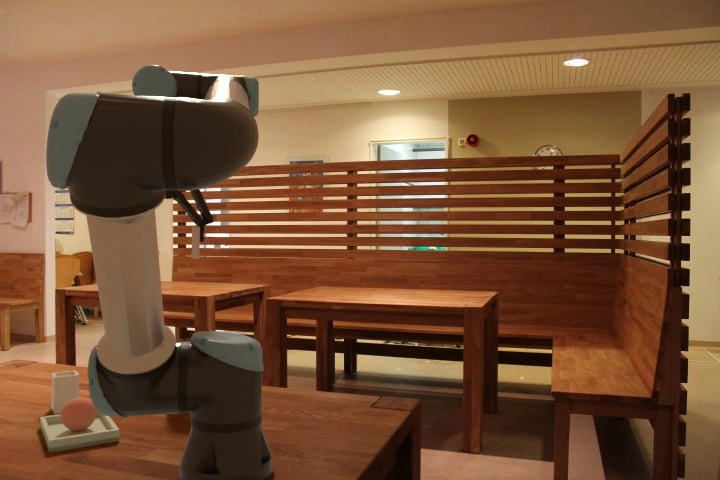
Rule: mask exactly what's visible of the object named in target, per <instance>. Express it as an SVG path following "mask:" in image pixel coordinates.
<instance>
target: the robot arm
mask: <svg viewBox="0 0 720 480" xmlns="http://www.w3.org/2000/svg"><path fill="white" fill-rule="evenodd" d="M259 83H260V82H259V80H258V78H257V77H254V76H246V75H242V74H237V75H235V74H233V75H232V74H218V73H217V74H215V73H214V74H213V73H201V72H199V73H198V72H184V71H173V70H168V69H167V68H165V67H163V66H160V65H156V64H149V65H146V66H145V65H144V66H142V67H141V68H140V69H138V71H136V72H135V74H134V76H133V78H132V82H131V89H132V93H133V94H121V93H105V92H103V93H102V91H97V92H71V93H67V94H65V95H63V96H62V97H61V98H60V99H59V100H58V101H57V103H56V104H55V106H54V110H53V112H52V114H51V117H50V121H49V126H48V133H47V140H46V150H45V151H46V152H45V158H46V159H45V163H46V175H47V178H48V181H49V183H50V185H51V186H52V187H54V188H56V189H58V190H65V189H68V192H69V193H68V194H69V198H70V204H71V205H72V207H73V208H74V209H75V210H76V211H78V212H79V213H80V214H83V215H84V216H85V217H86V223H87V224H86V225H87V228H88V229H87V230H88V234H89V235H88V236H89V242H90V247H91V248H90V249H91V253H92V259H93V268H94V272H95V278H96V285H97V292H98V293H97V294H98V298H99V304H100V312H101V317H102V324H103V329H104V334H103V335H102V336H101V337H100V339H99V340H98V344H96V345H95V346H94V347H93V348H92V349H91V351H90V354H89V357H88V362H87V379H88V386H87V387H88V388H87V389H88V393H89V397H90V400H91V401H92V403H93V405H94V407H95V409H96V410H97V411H98V412H99V413H100V414H102V415H105V416H110V417H120V418H129V417H141V416H143V417H144V416H159V415H163V416H164V415H179V414H181V415H182V414H184V415H185V414H190V420H191V423H190V431H189V434H188V436H187V440H186V444H185V446H184V450H183V452H182V456H181V458H180V462H179V480H267V479H268V478H269V477H271V474H272V473H273V456H272V453H271V449H270V446H269V444H268V443H269V442H268V441H267V437H266V433H265V430H264V428H263V371H264V368H265V366H264V361H263V348H262V345H261V343H260V342H259V341H258V340H257V339H255V338H253V337H252V336H247V335H244V334H240V333H235V332H229V331H218V330H209V331H205V330H202V331H197V332H194V333H193V334H192V336H191V337H190V339H191V342H176V340H177V339H176V337H175V334H174V332H173V331H172V330H171V328H170V327H168V326H167V325H166V324H165V317H164V305H163V291H162V280H161V268H160V267H161V266H160V255H159V244H158V231H157V220H156V217H157V216H156V209H158V208H159V207H160V206H161V205H162V204H163V203H164V201H165V200H172V199H173V200H174V201H175V202H177V203H178V205H179V206H180V207H181V209H182V210H183V211H184V212H185V213H186V214H187V216H188V217H189V218H190V220H192V222H193V223H194V224H195V225H196V226H191V259H197V260H198V259H200V243H203V242H204V241H205V227H206V225H210V224H213V223H214V218H213V215H212V213H211V211H210V209H209V207H208V205H207V202H206V200H205V198H204V196H203V193H202V192H201V190H202V189H206V188H209V187H212V186H215V185H218V184H220V183H222V182H223V181H225V180H228V179H229V178H232V177H233V176H235V175H237V174H238V173H239V172H240V171H242V169H244V168H245V167H246V166H247V165H248V164H249V163H250V161H251V160H252V159H253V157H254V156H255V154H256V151H257V149H258V145H259V136H260V135H259V127H258V124H257V123H258V122H257V120H256V116H258V115H259V109H260V108H259V106H260V105H259V103H260V98H259V97H260V86H259ZM182 191H184V192H185V191H186V192H188V191H189V192H190V194H191V196H192V199H193V201H194V203H195V205H196V207H197V210H198V211H199V212H197V211H196V209H195V208H194V207H193V205H192V204H191V203H190V201H189V200H188V199H187V198H186V196H185V194H184V193H183V192H182ZM199 213H200V214H199Z"/></svg>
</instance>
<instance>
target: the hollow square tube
mask: <svg viewBox="0 0 720 480" xmlns="http://www.w3.org/2000/svg"><path fill="white" fill-rule="evenodd" d="M50 396H51V397H50V399H51V400H50V401H51V404H50V405H51V406H50V407H51V411H52V412H53V415H59V414H61V412H62V409H63V407H64V406H65V404H66V403H67V402H69V401H70V400H72V399H74V398H78V397H80V374H79V372H78V371H77V370H65V371H57V372H55V371H54V372H51V395H50Z"/></svg>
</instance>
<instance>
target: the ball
mask: <svg viewBox="0 0 720 480" xmlns="http://www.w3.org/2000/svg"><path fill="white" fill-rule="evenodd" d="M60 414H61V420H62V423H63V424H64V426H65V427H66V428H68V429H70V430H73V431H81V430H84V429H86V428H88V427H89V426H91V425H92V423H93V422H94V420H95V418H96V414H97V410H96V409H95V407H94V405H93V403H92V401H91V399H89V398H87V397H81V396H79V397H78V398H74V399H72V400H70V401H69V402H67V403H66V404H65V406H64V407H63V409H62V412H61V413H60Z"/></svg>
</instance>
